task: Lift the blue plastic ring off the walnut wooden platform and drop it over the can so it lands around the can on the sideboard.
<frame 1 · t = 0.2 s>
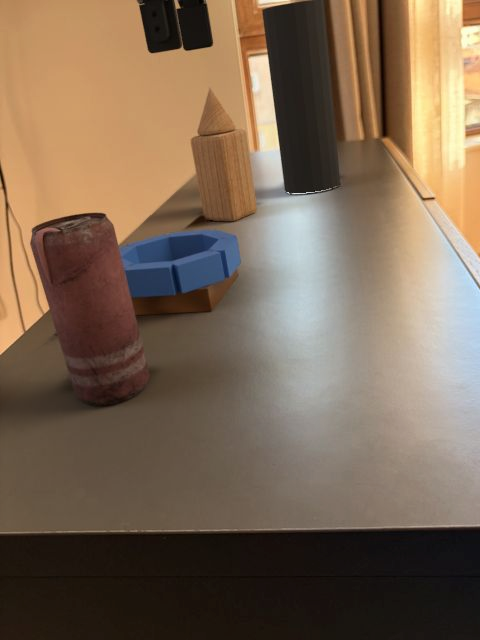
hand: (183, 49, 63), 25 cm above the sideboard, tool pointing down, fingers open, 9 cm apart
can: (114, 391, 52), on the sideboard
vase: (312, 189, 118), on the sideboard
decorative item: (231, 217, 105), on the sideboard
ring: (175, 274, 71), point 2 cm above the sideboard, touching platform
platform: (179, 295, 72), on the sideboard
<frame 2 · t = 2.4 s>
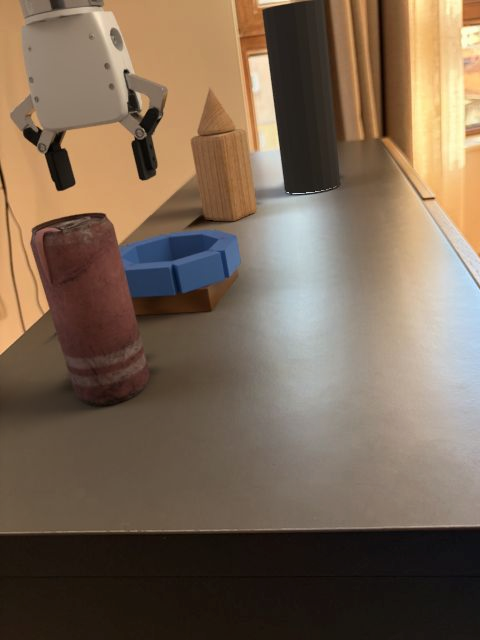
hand: (106, 183, 68), 13 cm above the sideboard, tool pointing down, fingers open, 9 cm apart
nothing on the sideboard moved.
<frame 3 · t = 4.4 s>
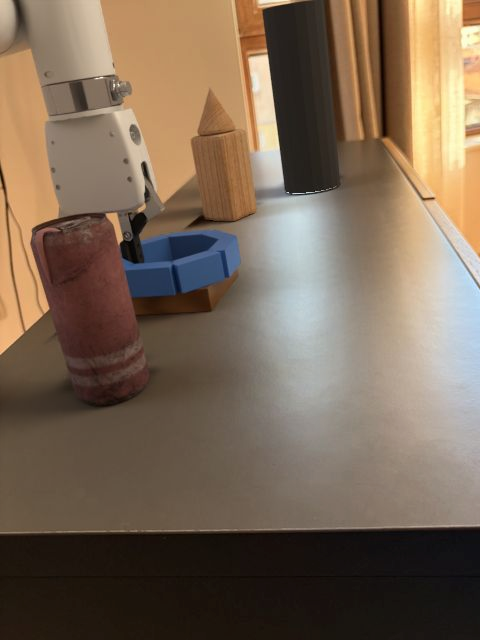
hand: (124, 272, 72), 3 cm above the sideboard, tool pointing down, fingers closed on ring, 2 cm apart
ring: (175, 274, 71), point 2 cm above the sideboard, touching gripper, platform
everything else where it was.
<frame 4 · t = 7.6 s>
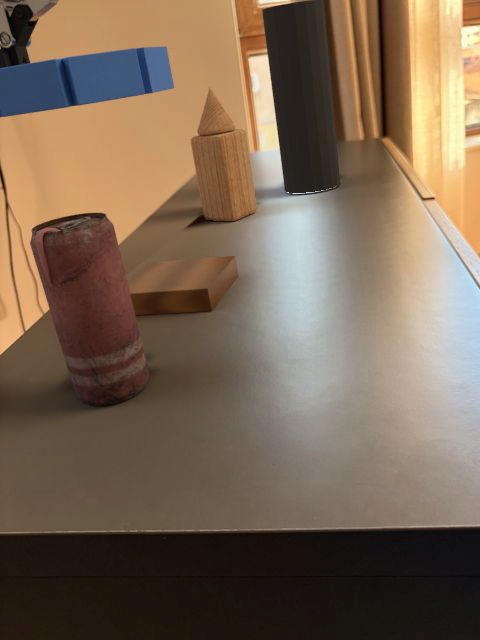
hand: (9, 104, 51), 22 cm above the sideboard, tool pointing down, fingers closed on ring
ring: (79, 103, 50), point 22 cm above the sideboard, touching gripper
everything else where it was.
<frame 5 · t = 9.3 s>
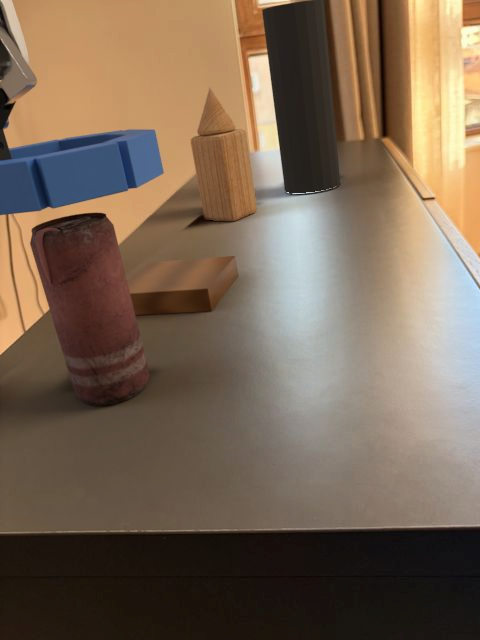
ring: (60, 190, 46), point 16 cm above the sideboard, touching gripper
everything else where it was.
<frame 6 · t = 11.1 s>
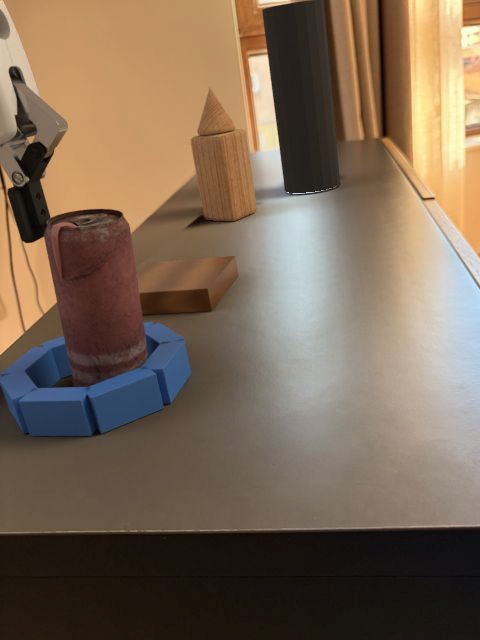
hand: (1, 239, 48), 13 cm above the sideboard, tool pointing down, fingers open, 5 cm apart
can: (113, 388, 52), resting in ring, touching gripper
ring: (102, 389, 53), on the sideboard
everything else where it was.
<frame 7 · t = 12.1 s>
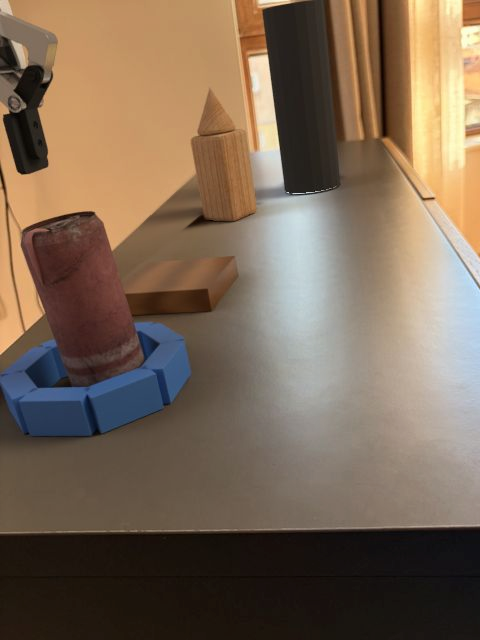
can: (113, 390, 52), resting in ring
everything else where it was.
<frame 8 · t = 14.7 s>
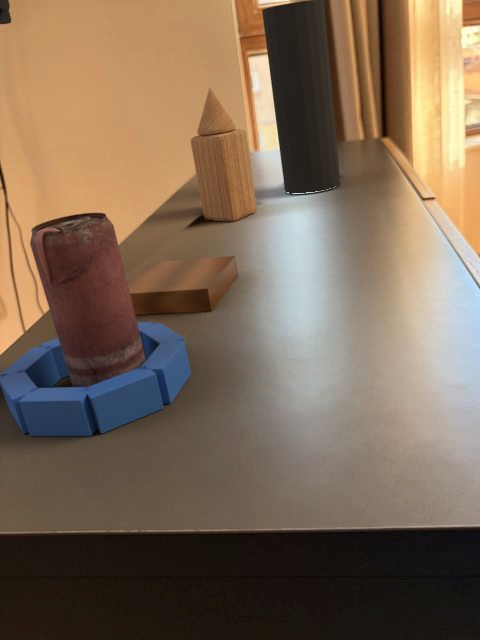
nothing on the sideboard moved.
at the end: ring 1.1 cm from the can (horizontally); ring on the sideboard; can tilted 0° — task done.
